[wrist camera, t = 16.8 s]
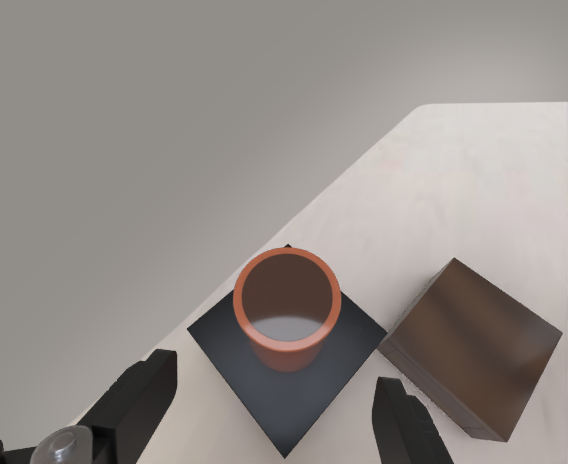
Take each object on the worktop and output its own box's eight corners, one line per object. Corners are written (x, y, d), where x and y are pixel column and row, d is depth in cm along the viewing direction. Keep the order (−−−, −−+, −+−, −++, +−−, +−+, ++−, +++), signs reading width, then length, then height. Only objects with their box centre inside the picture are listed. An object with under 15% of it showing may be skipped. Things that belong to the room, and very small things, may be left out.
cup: (287, 282, 26) (288, 229, 19) (339, 332, 24) (364, 295, 16) (234, 330, 24) (210, 292, 16) (285, 391, 22) (285, 379, 14)
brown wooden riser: (434, 275, 35) (454, 257, 31) (525, 343, 31) (563, 332, 27) (375, 347, 31) (389, 336, 27) (472, 438, 26) (507, 443, 22)
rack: (287, 276, 35) (288, 243, 29) (365, 350, 31) (388, 332, 24) (208, 347, 31) (186, 328, 24) (285, 447, 26) (284, 459, 19)
